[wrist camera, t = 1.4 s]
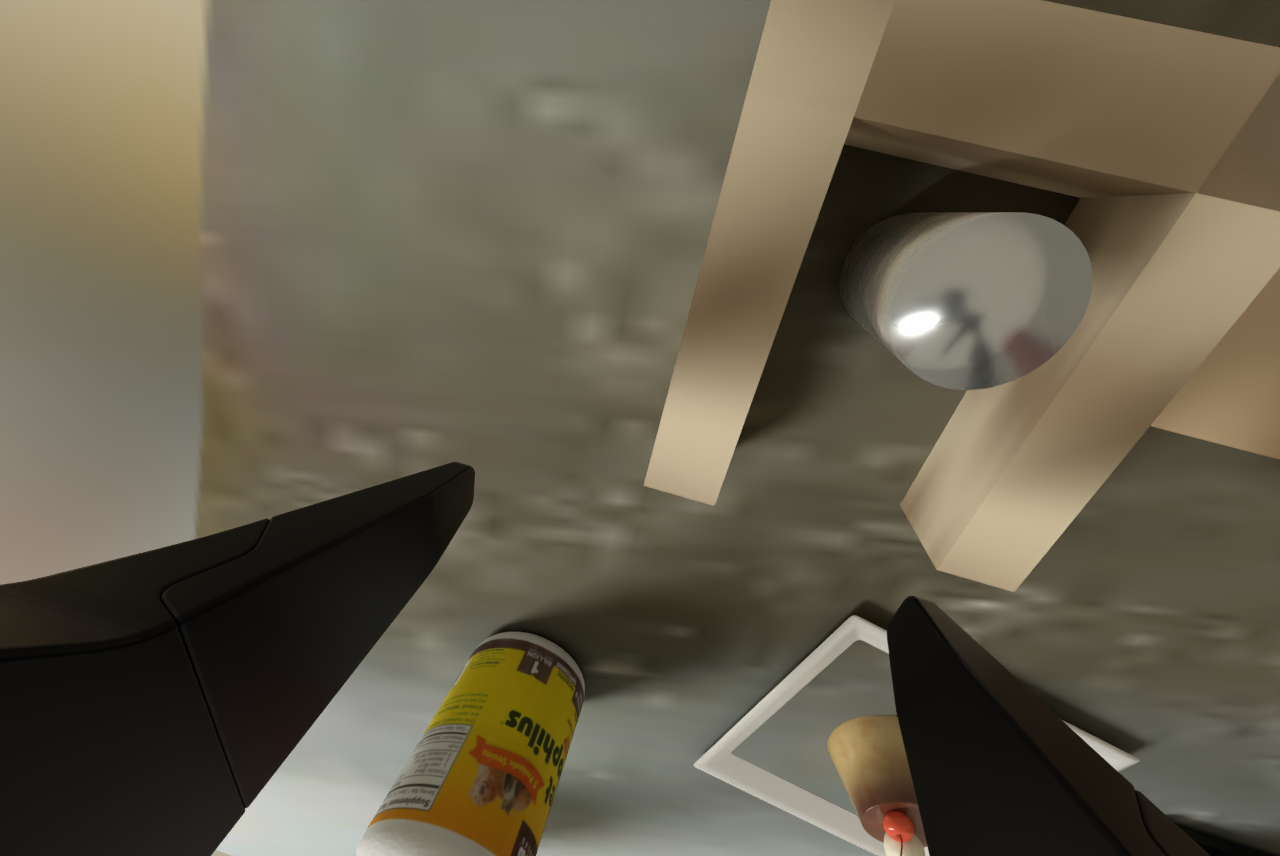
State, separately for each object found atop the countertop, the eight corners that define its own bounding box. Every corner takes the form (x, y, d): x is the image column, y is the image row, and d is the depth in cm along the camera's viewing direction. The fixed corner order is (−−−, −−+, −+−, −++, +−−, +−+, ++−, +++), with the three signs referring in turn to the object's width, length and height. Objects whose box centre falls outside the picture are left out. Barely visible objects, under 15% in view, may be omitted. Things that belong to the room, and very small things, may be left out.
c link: (771, 17, 10) (784, -52, 8) (1238, 116, 10) (1435, 78, 7) (659, 437, 15) (643, 485, 13) (962, 522, 15) (1013, 592, 12)
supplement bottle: (608, 700, 22) (517, 1059, 12) (512, 711, 23) (371, 1032, 14) (554, 614, 20) (401, 959, 11) (455, 633, 22) (250, 943, 12)
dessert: (846, 591, 17) (884, 717, 13) (1120, 730, 18) (1244, 897, 13) (693, 741, 23) (684, 865, 18) (905, 845, 23) (943, 989, 19)
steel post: (992, 228, 11) (1136, 237, 7) (930, 345, 12) (1024, 408, 8) (869, 199, 11) (943, 192, 7) (821, 317, 13) (863, 366, 9)
